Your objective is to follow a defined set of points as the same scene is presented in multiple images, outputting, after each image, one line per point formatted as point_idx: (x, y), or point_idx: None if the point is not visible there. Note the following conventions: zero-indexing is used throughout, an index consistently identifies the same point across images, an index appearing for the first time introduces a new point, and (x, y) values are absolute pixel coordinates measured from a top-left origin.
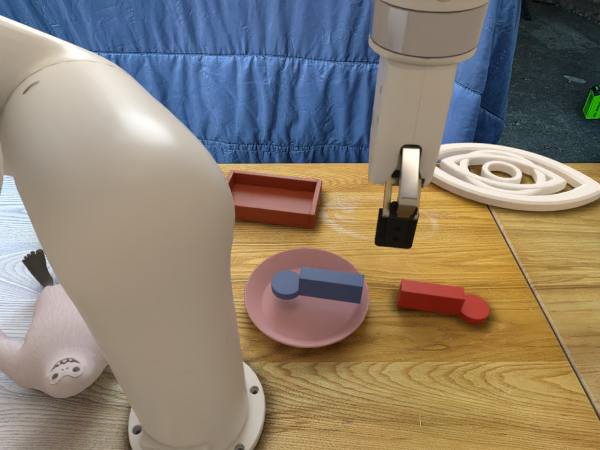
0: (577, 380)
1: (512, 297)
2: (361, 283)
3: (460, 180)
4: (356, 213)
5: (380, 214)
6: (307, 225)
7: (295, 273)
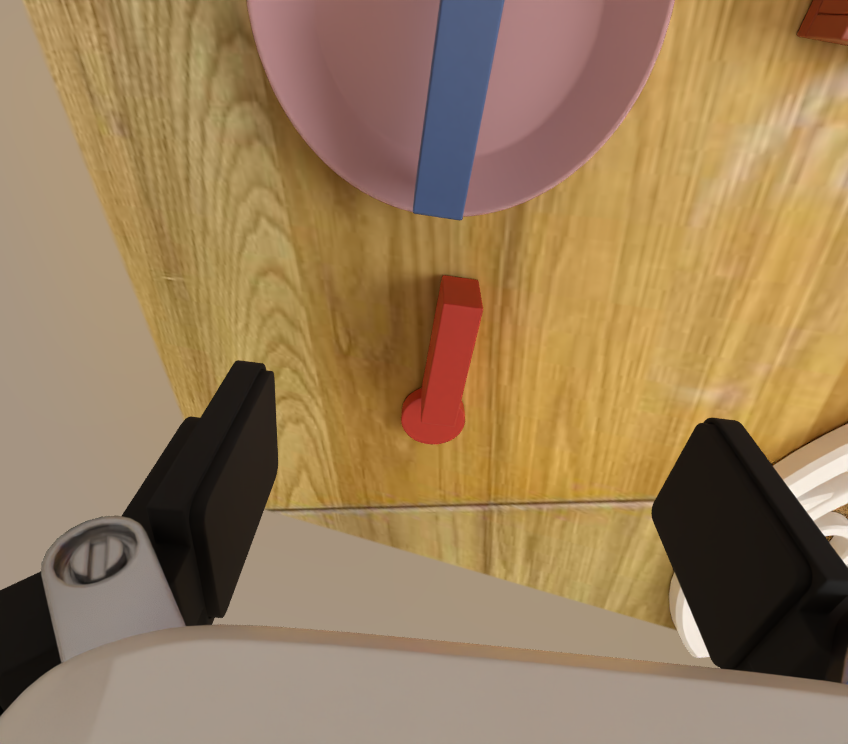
0: (309, 507)
1: (466, 476)
2: (426, 210)
3: (821, 482)
4: (817, 201)
5: (158, 498)
6: (817, 6)
7: None
